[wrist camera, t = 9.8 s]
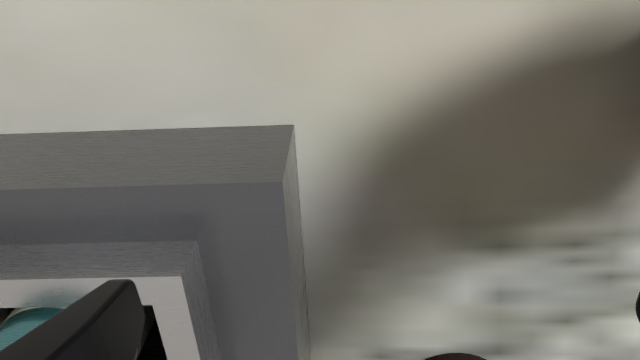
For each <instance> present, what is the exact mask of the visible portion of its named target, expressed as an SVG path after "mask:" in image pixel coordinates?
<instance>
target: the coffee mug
mask: <svg viewBox="0 0 640 360" xmlns="http://www.w3.org/2000/svg"><path fill="white" fill-rule="evenodd" d="M426 360H486V359H483V358H481V357H479V356H475V355H471V354H463V353H451V354H443V355H438V356H434V357H431V358H428V359H426Z"/></svg>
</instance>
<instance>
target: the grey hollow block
mask: <svg viewBox="0 0 640 360" xmlns="http://www.w3.org/2000/svg"><path fill="white" fill-rule="evenodd" d="M113 279H130V280H132V281H133V282H134V283H135V285H136V288H137V291H138V294H139V297H140V300H141V303H142V305H152V306H153V309H154V313H155V320H154V323H153V325H152V327H151V329H150V332H149V334H148V336H147V338H146V340H145V343H144V345H143V347H142V349H141V352H140V354H139V356H138V358H137V360H310V340H309V326H308V312H307V299H306V285H305V271H304V257H303V243H302V230H301V216H300V202H299V188H298V175H297V161H296V147H295V133H294V125H276V126H245V127H215V128H184V129H154V130H124V131H93V132H63V133H32V134H2V135H0V326H1V324H2V323H3V322H4V320H5V319H6V318H7V317H8V316H9V315H10V314H11V312H12V311H13V310H14V309H15V308H27V307H68V306H70V305H71V304H73V303H74V302H76V301H77V300H79V299H80V298H82V297H83V296H85V295H86V294H88V293H89V292H91V291H92V290H94V289H96V288H97V287H99V286H100V285H102V284H103V283H105V282H106V281H108V280H113Z"/></svg>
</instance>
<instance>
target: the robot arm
mask: <svg viewBox="0 0 640 360" xmlns="http://www.w3.org/2000/svg"><path fill="white" fill-rule="evenodd" d="M636 314H637V317H638V320H639V322H640V292H639V295H638V298H637V301H636ZM144 324H145V313H144V309H143V306H142V303H141V300H140V297H139V294H138V291H137V288H136V285H135V283H134V282H133V281H132V280H130V279H113V280H108V281H106V282H105V283H103V284H102V285H100V286H99V287H97V288H96V289H94V290H92V291H91V292H89V293H88V294H86V295H85V296H83V297H82V298H80V299H79V300H77V301H76V302H74V303H73V304H71V305H70V306H68V307H67V308H65V309H63V310H62V311H60V312H59V313H57V314H56V315H54V316H53V317H51V318H50V319H48V320H47V321H45V322H44V323H42V324H41V325H39V326H38V327H36V328H34V329H33V330H31V331H30V332H28V333H27V334H25V335H24V336H22V337H21V338H19V339H18V340H16V341H15V342H13V343H12V344H10V345H9V346H7V347H5V348H4V349H2V350H1V351H0V360H134V359H135V355H136V352H137V348H138V345H139V342H140V338H141V335H142V331H143V328H144Z"/></svg>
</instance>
